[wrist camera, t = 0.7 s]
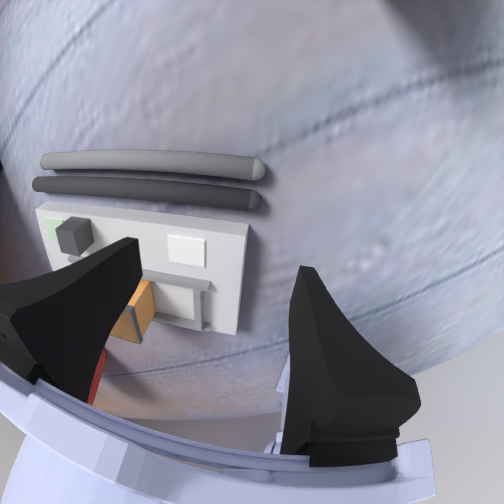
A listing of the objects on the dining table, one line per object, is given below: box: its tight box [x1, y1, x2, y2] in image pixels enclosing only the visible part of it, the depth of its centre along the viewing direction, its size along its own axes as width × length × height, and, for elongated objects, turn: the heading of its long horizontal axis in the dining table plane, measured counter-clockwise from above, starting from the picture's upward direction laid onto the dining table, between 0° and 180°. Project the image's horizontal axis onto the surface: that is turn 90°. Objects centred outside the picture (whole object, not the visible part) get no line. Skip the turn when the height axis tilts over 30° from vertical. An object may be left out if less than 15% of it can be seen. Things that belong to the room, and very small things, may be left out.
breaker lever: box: [110, 279, 156, 344], centre depth 22 cm, size 4×4×4 cm
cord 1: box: [40, 150, 266, 180], centre depth 19 cm, size 2×22×2 cm, turn 84°
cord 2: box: [32, 176, 262, 212], centre depth 20 cm, size 2×24×2 cm, turn 84°
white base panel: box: [35, 201, 249, 335], centre depth 23 cm, size 11×22×4 cm, turn 84°
